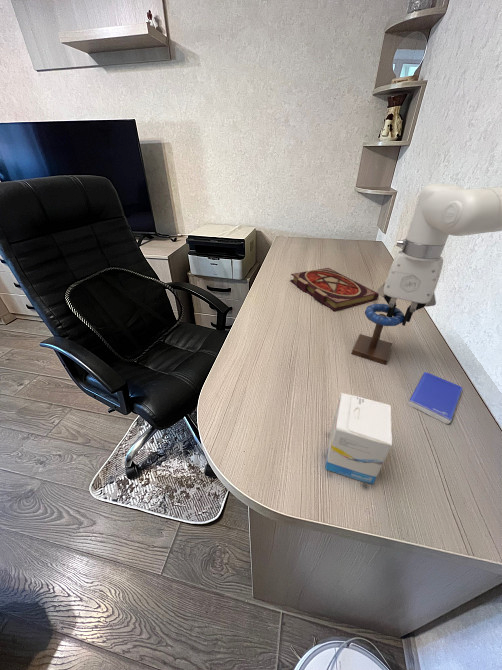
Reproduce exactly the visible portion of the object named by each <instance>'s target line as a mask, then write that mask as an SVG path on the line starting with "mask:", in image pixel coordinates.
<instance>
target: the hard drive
mask: <svg viewBox="0 0 502 670" xmlns="http://www.w3.org/2000/svg"><path fill="white" fill-rule="evenodd" d="M462 391H463V386H461V385H459V384H456V383H454V382H451V381H449V380H447V379H444V378H443V377H442V378H441V377H439V376H437V375H434V374H433V373H430V372H426V371H424V372H423V374H422V376H421V377H420V380H419V381H418V383H417V385H416V387H415V389H414V391H413V392H412V394H411V396H410V398H409V400H408V402H407V405H408V406H410V407H411V408H413V409H415V410H418V411H420V412H422V413H424V414H426V415H428V416H430V417H432V418H434V419H436V420H438V421H440V422H442V423H444V424H447V425H449V424H451V421H452V420H453V418H454V417H453V416H454V414H455V411H456V409H457V405H458V402H459V400H460V397H461V394H462Z"/></svg>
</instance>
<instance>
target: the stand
mask: <svg viewBox="0 0 502 670" xmlns="http://www.w3.org/2000/svg"><path fill="white" fill-rule="evenodd" d="M378 315H380V316H384V317H386V315H387V314H384V313H379V314H378ZM383 329H384V326H383V325H379V324H375V326H374V330H373V333H372V336H369V335H366V334H362V333H360V334H359V335H358V338H357V340H356V341H355V344H354V346H353V348H352V350H351V355H354V356H356V357H360V358H363V359H366V360H368V361H372V362H376V363H379V364H382V365H385V366H386V365H387V363H388V360H389V357H390V354H391V350H392V347H393V342H391V341H387V340H383V339H380V337H381V335H382V332H383Z"/></svg>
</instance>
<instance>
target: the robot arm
mask: <svg viewBox="0 0 502 670" xmlns="http://www.w3.org/2000/svg"><path fill="white" fill-rule="evenodd" d="M495 232H502V186H493V187H479V188H464V187H463V186H460V185H458V184H453V183H429V184H426V185H425V186H424V187H422V188H421V190H420V192H419V195H418V198H417V201H416V204H415V208H414V211H413V214H412V217H411V220H410V223H409V226H408V230H407V234H406V237H405V238H404V239H401V240H399V239H398V240H397V242H396V245H395V246H396V247H399V248H400V249H401V250H399V251H398V252H397V253H396V255H395V256H394V259H393V261H392V263H391V265H390V268H389V271H388V274H387V277H386V278H385V279H386V280H385V282H383V283H382V284H381V286H380V287H378V288H377V290H376V292H377V293H378V294H379V296H380V297H382V298H383V299H384V301H386V304H387V305H388V306H389V309H388V312H387V313H386V314H385V315H386V317H394V316H393V314H394V311H395V308H397V300H403V301H408V302H410V303H411V304H410V305H408V307H407V308H406V311H405V313H404V320H403V322H402V323H401V325H402V326H403V327H405V326H406V323H410V322H411V320H412V317H413V314H414V313H415V312H416V311H418V310H421V309H423V308H425V307H427V308H428V307H433V306H436V305H437V299H436V293H435V292H436V288H437V287H438V284H439V283H438V282H439V280H440V277H441V273H442V269H443V265H444V257H442V254H443V251H444V249H445V246H446V243H447V241H448V239H449V236H453V237H463V236H464V237H465V236H472V235H477V234H478V235H480V234H487V233H488V234H489V233H495Z"/></svg>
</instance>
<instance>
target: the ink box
mask: <svg viewBox="0 0 502 670" xmlns="http://www.w3.org/2000/svg"><path fill="white" fill-rule="evenodd" d="M328 438H329V439H328V445H327V451H326V452H327V453H326V461H325V465H324V466H325V467H324V469H325V471H329V472H332V473H335V474H338V475H341V476H344V477H346V478H350V479H353V480H356V481H359V482H363V483H366V484H370V485H374V484H375V481H376V479H377V478H378V477H377V476H378V475H379V473H380V471H381V469H382V468H383V465H384V462H385V461H386V459H387V456H388V454H389V452H390V451H391V449H392V446H393V428H392V405H390V404H388V403H384V402H381V401H377V400H374V399H369V398H366V397H361V396H358V395H354V394H350V393H345V392H340V396H339V399H338V402H337V406H336V410H335V414H334V417H333V420H332V424H331V428H330V431H329V437H328Z"/></svg>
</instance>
